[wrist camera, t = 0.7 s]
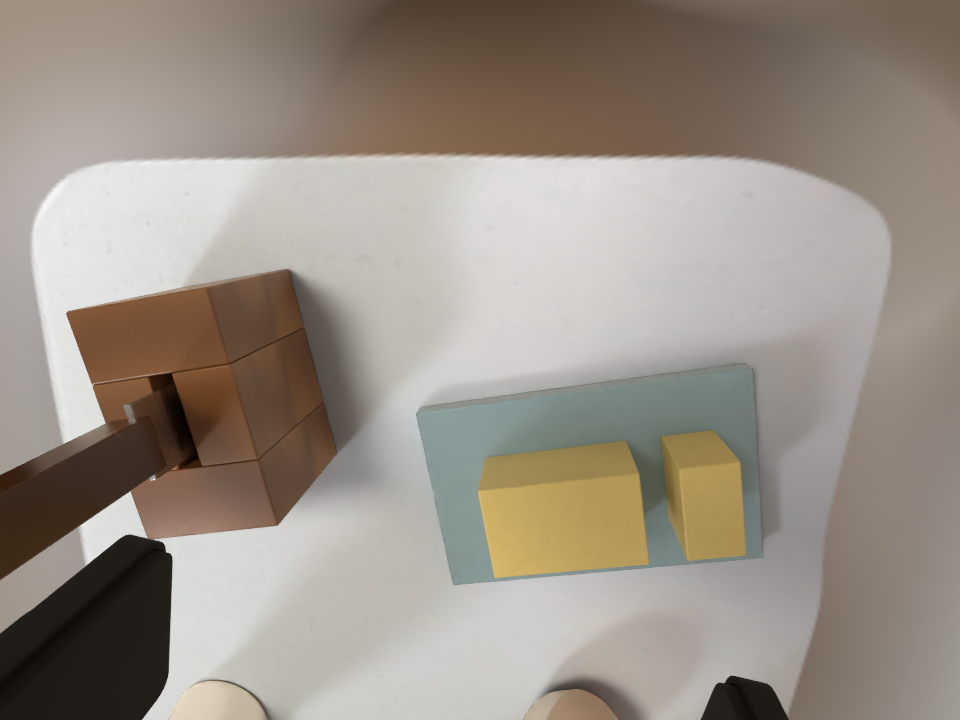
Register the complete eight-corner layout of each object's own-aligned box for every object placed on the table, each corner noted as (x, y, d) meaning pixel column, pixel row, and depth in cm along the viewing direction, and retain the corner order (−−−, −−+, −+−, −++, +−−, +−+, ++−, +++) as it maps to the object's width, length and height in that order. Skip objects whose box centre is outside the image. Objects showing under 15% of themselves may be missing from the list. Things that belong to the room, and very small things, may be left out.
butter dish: (419, 406, 28) (415, 413, 27) (745, 362, 26) (753, 368, 25) (455, 573, 30) (453, 585, 29) (755, 546, 28) (763, 558, 27)
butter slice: (660, 435, 26) (678, 468, 23) (714, 429, 26) (741, 461, 22) (668, 518, 27) (687, 561, 24) (720, 513, 27) (747, 556, 23)
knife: (238, 348, 28) (-176, 535, 12) (267, 343, 28) (-115, 527, 11) (254, 402, 29) (-116, 650, 12) (282, 398, 28) (-57, 644, 12)
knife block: (179, 288, 27) (64, 312, 21) (289, 268, 27) (206, 286, 20) (235, 466, 30) (147, 540, 23) (337, 453, 29) (278, 526, 22)
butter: (484, 456, 27) (477, 491, 24) (626, 439, 26) (639, 473, 23) (499, 535, 28) (494, 578, 25) (635, 521, 27) (650, 565, 24)
